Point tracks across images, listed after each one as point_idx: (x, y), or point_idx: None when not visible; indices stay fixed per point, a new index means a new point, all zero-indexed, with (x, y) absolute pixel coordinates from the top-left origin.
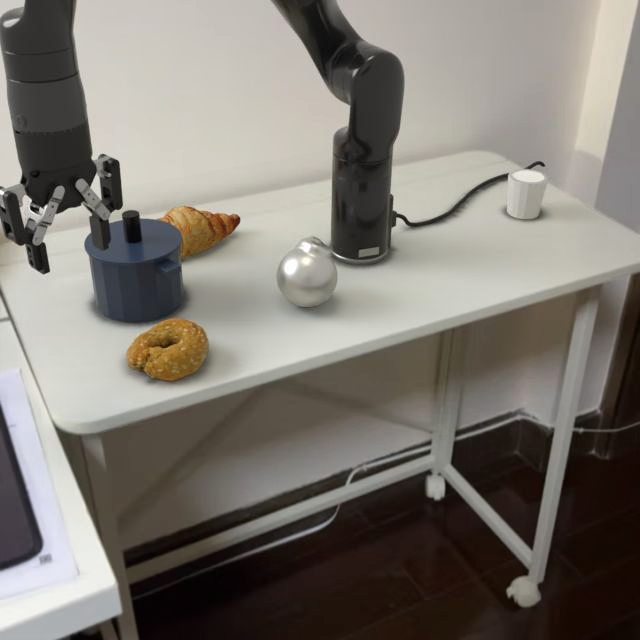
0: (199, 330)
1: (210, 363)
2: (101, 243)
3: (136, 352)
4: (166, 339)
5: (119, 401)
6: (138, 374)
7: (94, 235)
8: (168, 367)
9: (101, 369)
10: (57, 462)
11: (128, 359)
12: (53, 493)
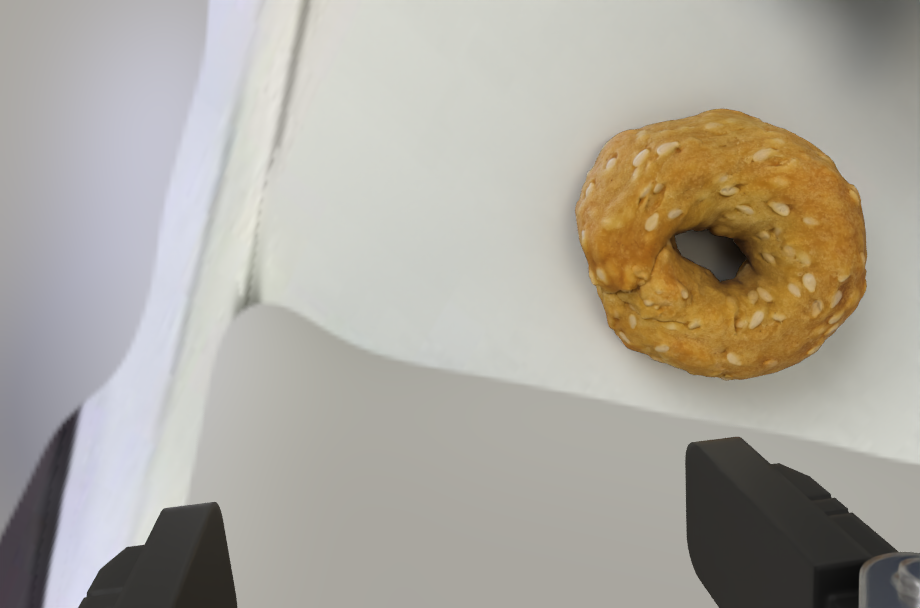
0: (843, 311)
1: None
2: (712, 582)
3: (613, 242)
4: (740, 232)
5: (461, 321)
6: None
7: (729, 517)
8: (651, 352)
9: (507, 127)
10: (181, 457)
11: (583, 216)
12: None
